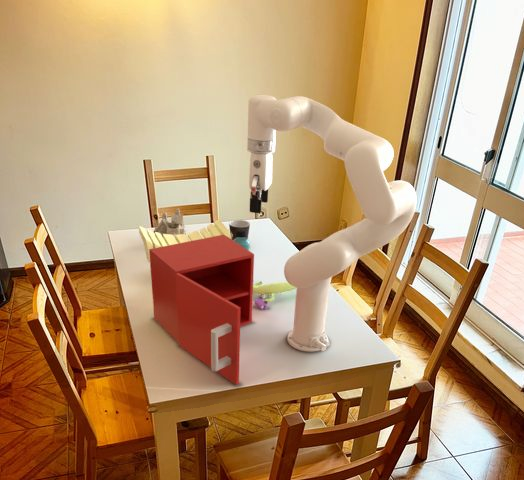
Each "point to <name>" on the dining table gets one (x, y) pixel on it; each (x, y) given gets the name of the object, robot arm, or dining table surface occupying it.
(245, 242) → the beverage bottle
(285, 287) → the figurine
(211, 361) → the fridge door
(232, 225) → the coffee mug
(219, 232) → the slatted curved stool
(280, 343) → the dining table surface
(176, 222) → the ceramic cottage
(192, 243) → the box
